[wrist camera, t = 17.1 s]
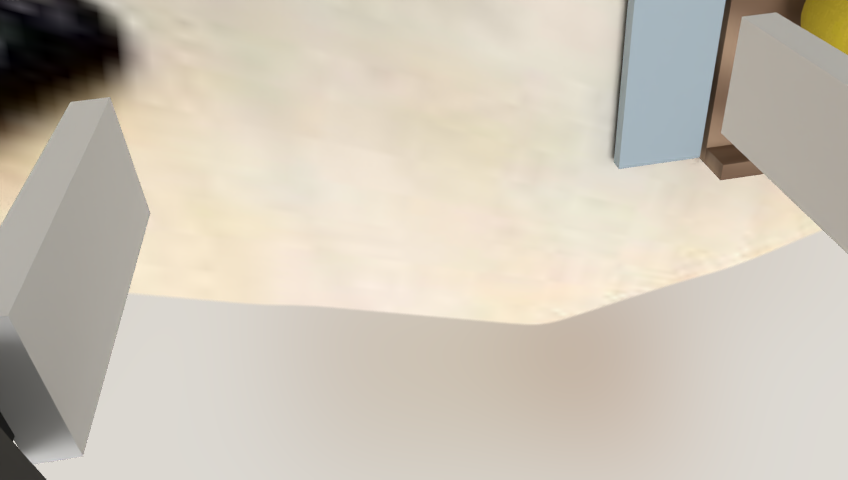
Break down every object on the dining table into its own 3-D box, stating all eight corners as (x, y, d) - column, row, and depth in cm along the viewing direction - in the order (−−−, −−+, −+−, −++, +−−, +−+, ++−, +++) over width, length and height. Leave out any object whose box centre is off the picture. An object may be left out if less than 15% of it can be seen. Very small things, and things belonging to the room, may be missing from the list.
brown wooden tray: (749, -190, 42) (788, -183, 39) (947, -211, 43) (1001, -205, 40) (694, 152, 55) (720, 180, 51) (847, 130, 56) (882, 156, 52)
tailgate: (745, -179, 42) (642, -168, 41) (754, -176, 41) (650, -165, 40) (693, 150, 54) (613, 162, 53) (699, 157, 53) (618, 168, 53)
